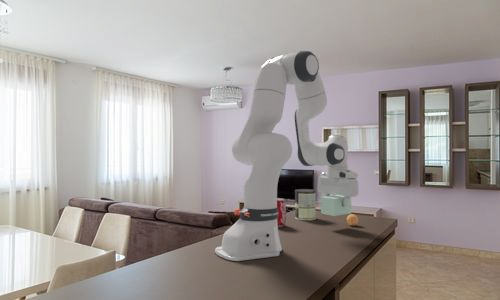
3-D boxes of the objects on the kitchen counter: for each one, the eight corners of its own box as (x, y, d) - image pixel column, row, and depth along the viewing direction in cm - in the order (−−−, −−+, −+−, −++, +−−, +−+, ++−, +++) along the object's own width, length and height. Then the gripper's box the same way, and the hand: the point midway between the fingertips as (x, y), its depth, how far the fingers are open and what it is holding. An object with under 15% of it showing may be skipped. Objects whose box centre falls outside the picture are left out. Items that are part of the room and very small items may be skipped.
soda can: (285, 224, 155) (285, 198, 155) (286, 227, 148) (285, 200, 148) (270, 224, 156) (270, 197, 156) (269, 227, 149) (269, 199, 149)
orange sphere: (362, 220, 152) (356, 228, 150) (353, 219, 156) (347, 226, 154) (357, 212, 150) (351, 221, 148) (348, 211, 155) (342, 219, 152)
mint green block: (333, 215, 141) (333, 198, 141) (320, 213, 147) (320, 196, 147) (351, 213, 147) (351, 196, 147) (338, 211, 153) (338, 195, 153)
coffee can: (290, 218, 170) (290, 189, 170) (304, 215, 176) (304, 188, 176) (306, 221, 162) (306, 191, 162) (320, 218, 168) (320, 190, 168)
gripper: (314, 172, 154) (314, 202, 154) (350, 174, 137) (350, 208, 137) (324, 172, 158) (324, 202, 157) (361, 174, 141) (360, 207, 140)
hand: (336, 205), depth 147 cm, fingers closed on mint green block, 7 cm apart
